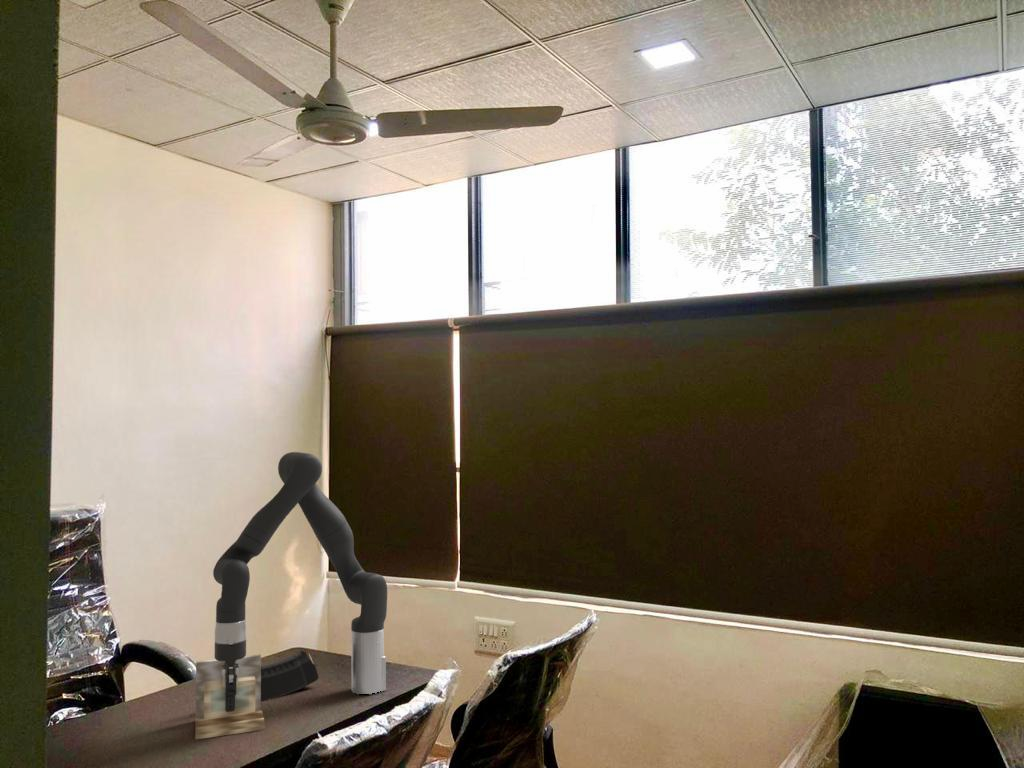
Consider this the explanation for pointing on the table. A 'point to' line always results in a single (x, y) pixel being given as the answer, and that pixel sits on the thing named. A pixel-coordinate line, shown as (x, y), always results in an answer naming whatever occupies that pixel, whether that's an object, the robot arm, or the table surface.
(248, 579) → the robot arm
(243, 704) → the frame
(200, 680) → the marble tile stand
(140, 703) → the table surface
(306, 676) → the magazine
